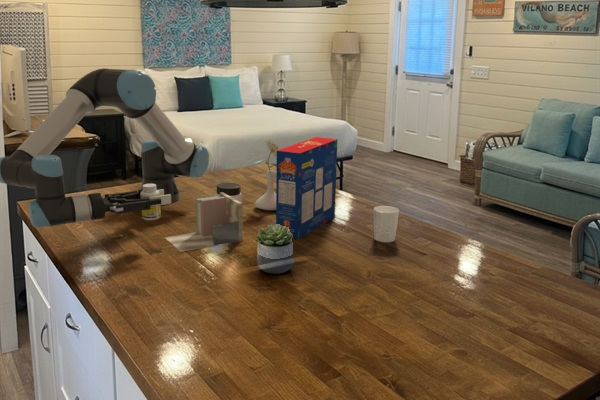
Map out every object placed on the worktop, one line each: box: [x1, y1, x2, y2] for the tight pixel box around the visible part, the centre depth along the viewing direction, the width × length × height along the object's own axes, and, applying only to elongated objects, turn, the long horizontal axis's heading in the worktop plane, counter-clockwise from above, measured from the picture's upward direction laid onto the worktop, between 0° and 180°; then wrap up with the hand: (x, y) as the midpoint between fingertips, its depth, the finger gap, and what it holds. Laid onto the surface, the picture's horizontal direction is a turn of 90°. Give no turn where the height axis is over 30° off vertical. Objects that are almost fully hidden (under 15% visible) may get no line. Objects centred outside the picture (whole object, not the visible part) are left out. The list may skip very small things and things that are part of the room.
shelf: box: [164, 192, 244, 253], centre depth 187 cm, size 14×20×13 cm
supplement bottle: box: [140, 184, 162, 221], centre depth 183 cm, size 6×6×10 cm
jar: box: [215, 182, 243, 204], centre depth 211 cm, size 9×8×12 cm
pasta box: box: [275, 136, 338, 241], centre depth 203 cm, size 28×8×28 cm, turn 152°
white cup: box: [373, 205, 400, 243], centre depth 194 cm, size 8×8×10 cm
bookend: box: [213, 222, 240, 246], centre depth 185 cm, size 1×8×6 cm, turn 121°
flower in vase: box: [254, 139, 279, 211], centre depth 222 cm, size 13×11×25 cm
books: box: [195, 195, 227, 237], centre depth 193 cm, size 5×8×12 cm, turn 121°
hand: (167, 196), depth 185 cm, fingers closed on supplement bottle, 6 cm apart
